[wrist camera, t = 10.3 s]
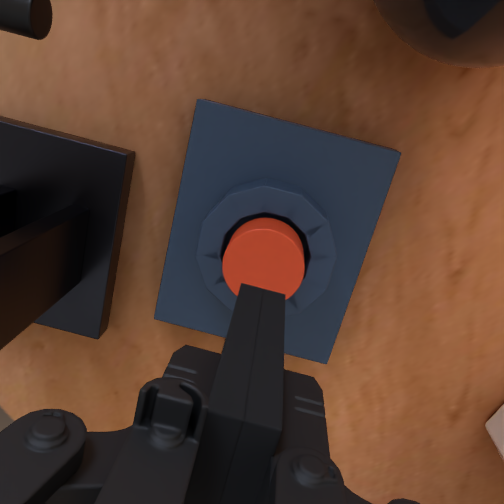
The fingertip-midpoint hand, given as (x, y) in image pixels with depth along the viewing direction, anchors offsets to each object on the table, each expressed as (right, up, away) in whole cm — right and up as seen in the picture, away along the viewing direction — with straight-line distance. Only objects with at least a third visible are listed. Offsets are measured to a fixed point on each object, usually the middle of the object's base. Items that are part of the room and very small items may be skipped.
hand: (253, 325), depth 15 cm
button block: (+1, +4, +10) cm, 11 cm away
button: (+1, +2, +6) cm, 7 cm away
